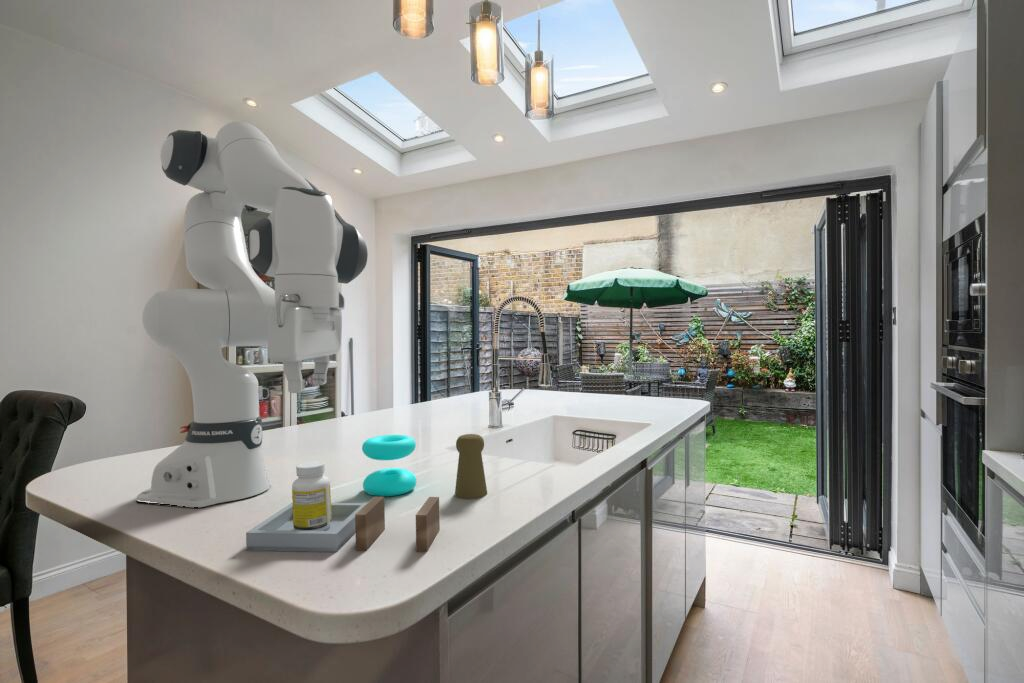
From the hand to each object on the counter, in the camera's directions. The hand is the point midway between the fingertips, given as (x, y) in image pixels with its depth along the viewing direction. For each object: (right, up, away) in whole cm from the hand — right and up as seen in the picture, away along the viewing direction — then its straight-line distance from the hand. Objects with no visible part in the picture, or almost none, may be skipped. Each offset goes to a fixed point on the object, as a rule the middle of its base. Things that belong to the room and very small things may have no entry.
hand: (308, 388), depth 79 cm
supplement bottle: (0, -22, 0) cm, 22 cm away
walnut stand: (+14, -22, -3) cm, 26 cm away
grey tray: (+1, -22, 0) cm, 22 cm away
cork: (+23, -21, +18) cm, 36 cm away
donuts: (+7, -22, +22) cm, 32 cm away
